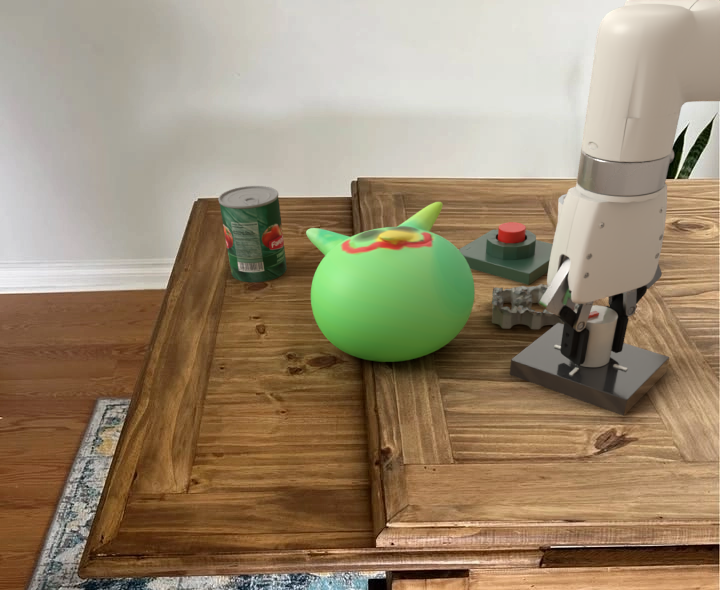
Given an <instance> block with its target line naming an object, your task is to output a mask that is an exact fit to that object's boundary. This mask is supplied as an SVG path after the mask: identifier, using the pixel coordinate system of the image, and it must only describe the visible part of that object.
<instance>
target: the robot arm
mask: <svg viewBox="0 0 720 590" xmlns="http://www.w3.org/2000/svg"><path fill="white" fill-rule="evenodd" d="M587 97H588V98H587V105H586V112H585V120H584V126H583V134H582V140H581V147H580V148H581V149H580V155H579V162H578V163H579V164H578V168H577V169H578V172H577V177H576V184H575V186H573V187H570V188H568V190H567V193H566V194H567V195H566V198H565V200H564V203H563V206H562V209H561V212H560V216H559V220H558V219H557V223H556V227H555V231H554V236H553V241H552V244H553V245H552V250H551V256H550V261H549V268H548V272H547V276H546V285H548V288H547V290H546V291H545V293H544V294H543V296H542V298H541V299H540V301H539V304H538V305H539V306H540V307H541V308H542V309H543V310H545V309H546V310H547V311H549V312H551V313H553V314H555V315H556V316H558V317H559V319H560V320H561V321H563V322H564V327H563V334H562V341H561V349H560V351H561V354H562V355H564V356H565V357H566V358H568V359H569V360H571V361H572V362H573V363H575V364H576V365H581V364H583V363H584V361H585V356H586V350H587V344H588V338H589V330H588V329H587V328H585V326H586V323H587V320H588V317H589V314H590V311H591V308H592V305H594V302H595V301H600V300H603V299H607V298H608V300H607V301H608V305H604V307H608V308H611V309H613V310H614V311H615V312H616V313H617V314H618V319H617V325H616V330H615V335H614V340H613V345H612V350H611V351H613V352H615V353H618V352H621V351H622V348H623V344H624V343H625V338H626V334H627V328H628V324H629V319H630V318H629V317H631V316H633V315H634V314H635V313H636V311H637V304H638V303H639V302H640V301H641V300H642V298H643V297H644V296H645V294H646V293H647V290H649V289H650V288H651V287H653V286H654V284H656V283H657V282H658V281H659V280H660V279H661V277H662V274H663V273H662V272H663V271H662V268H661V267H660V264H659V262H660V257H661V253H662V249H663V248H662V247H663V241H664V236H665V230H666V229H665V228H666V221H667V209H668V207H667V206H668V185H667V184H666V180H667V176H668V172H669V166H670V164H671V163H672V162H673V161H674V158H675V151H674V149H673V148H674V143H675V139H676V134H677V130H678V124H679V120H680V115H681V110H682V107H683V105H685V104H686V103H696V102H720V0H625V2H624V4H623V6H620V7H617V8H614V9H612V10H610V11H609V12H607V13H606V14H605V15H604V16H603V18H602V19H601V21H600V23H599V25H598V28H597V33H596V39H595V44H594V53H593V59H592V67H591V74H590V83H589V89H588V96H587ZM565 293H566V295H565V298H564V301H563V303H562V302H561V300H562V297H563V296H564V294H565ZM575 304H579V307H578V310H577V313H575V312H574V308H575Z"/></svg>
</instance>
